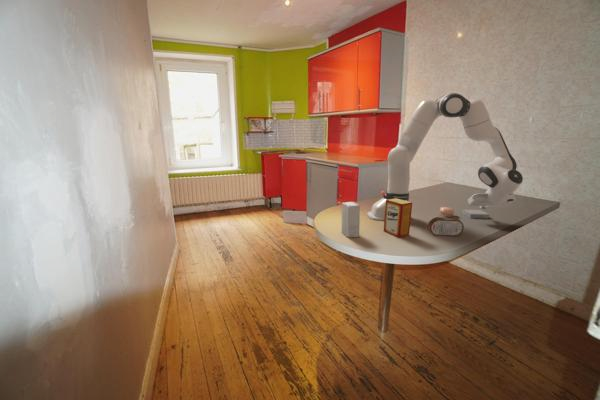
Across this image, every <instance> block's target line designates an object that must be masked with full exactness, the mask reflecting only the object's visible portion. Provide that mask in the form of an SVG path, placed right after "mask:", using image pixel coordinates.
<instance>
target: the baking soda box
mask: <svg viewBox="0 0 600 400" xmlns="http://www.w3.org/2000/svg"><path fill="white" fill-rule="evenodd" d="M412 209H413V201H405V200H401V199H397V198H394V199H388V200H386V207H385V219H384V220H383V224H384V225H383V232H384V233H386V234H389V235H391V236H393V237H396V238H398V239H399V238H404V237H407V236H410V230H411V219H412Z"/></svg>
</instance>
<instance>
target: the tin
mask: <svg viewBox="0 0 600 400" xmlns="http://www.w3.org/2000/svg"><path fill="white" fill-rule="evenodd" d="M464 228H465V226H464V222H462V221H461V220H460V219H459V218H457V217H444V216H440V217H439V216H438V217H437V216H436V217H433V218H432V219H431V220H430V221H429V222H428V224H427V229H428V230H429V232H430V233H431V234H433V235H434V236H440V237H441V236H442V237H457V236H459V235H460V234H462V233H463V231H464Z"/></svg>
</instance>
